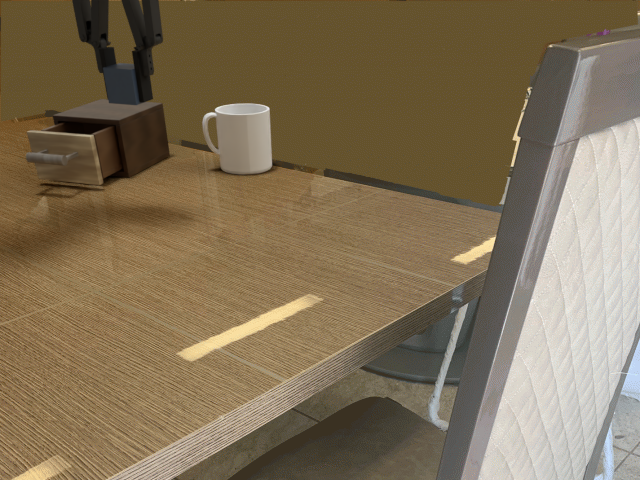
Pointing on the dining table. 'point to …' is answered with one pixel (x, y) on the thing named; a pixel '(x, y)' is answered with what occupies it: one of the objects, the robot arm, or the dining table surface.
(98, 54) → the robot arm
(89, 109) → the cabinet
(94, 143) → the drawer
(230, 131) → the mug
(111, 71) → the block
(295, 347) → the dining table surface
